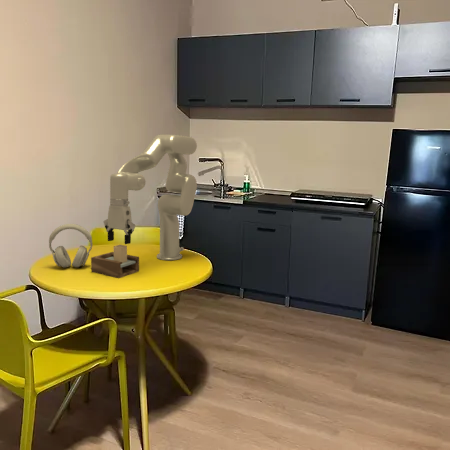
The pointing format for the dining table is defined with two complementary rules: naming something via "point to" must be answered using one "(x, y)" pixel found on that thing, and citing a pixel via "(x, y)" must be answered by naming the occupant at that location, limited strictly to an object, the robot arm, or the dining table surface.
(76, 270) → the dining table surface
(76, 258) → the headphones
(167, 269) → the dining table surface
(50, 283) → the dining table surface
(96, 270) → the walnut box
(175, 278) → the dining table surface
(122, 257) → the cover plate
